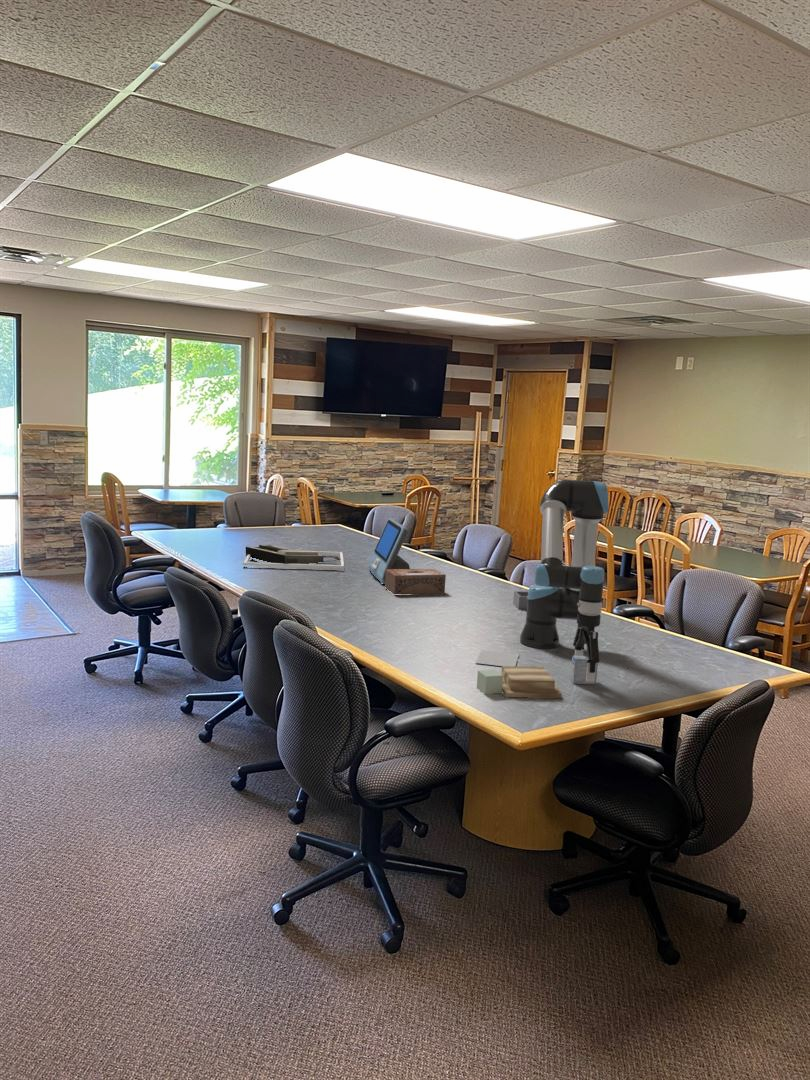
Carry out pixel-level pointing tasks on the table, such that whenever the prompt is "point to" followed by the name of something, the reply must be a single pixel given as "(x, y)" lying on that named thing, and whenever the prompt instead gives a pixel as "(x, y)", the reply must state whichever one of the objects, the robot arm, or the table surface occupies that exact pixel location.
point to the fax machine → (284, 555)
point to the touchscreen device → (388, 550)
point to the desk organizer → (520, 599)
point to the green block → (489, 681)
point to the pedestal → (528, 683)
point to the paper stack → (497, 658)
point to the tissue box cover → (415, 581)
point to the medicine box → (580, 670)
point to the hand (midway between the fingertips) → (583, 675)
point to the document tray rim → (300, 564)
